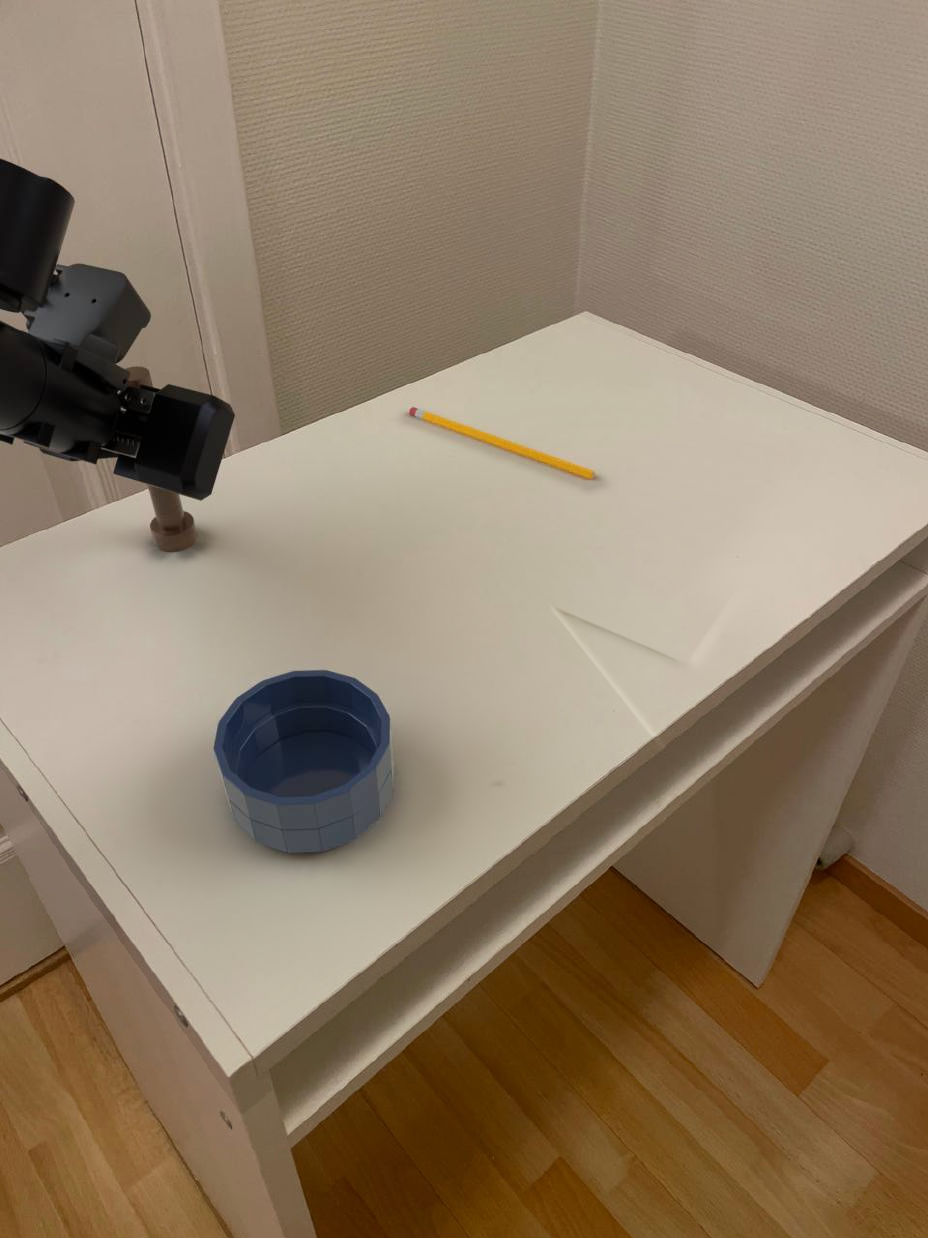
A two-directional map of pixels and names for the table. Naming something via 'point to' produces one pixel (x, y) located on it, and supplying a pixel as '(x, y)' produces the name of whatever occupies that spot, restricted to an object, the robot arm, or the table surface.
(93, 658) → the table surface
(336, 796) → the bowl
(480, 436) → the pencil
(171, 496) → the muddler
